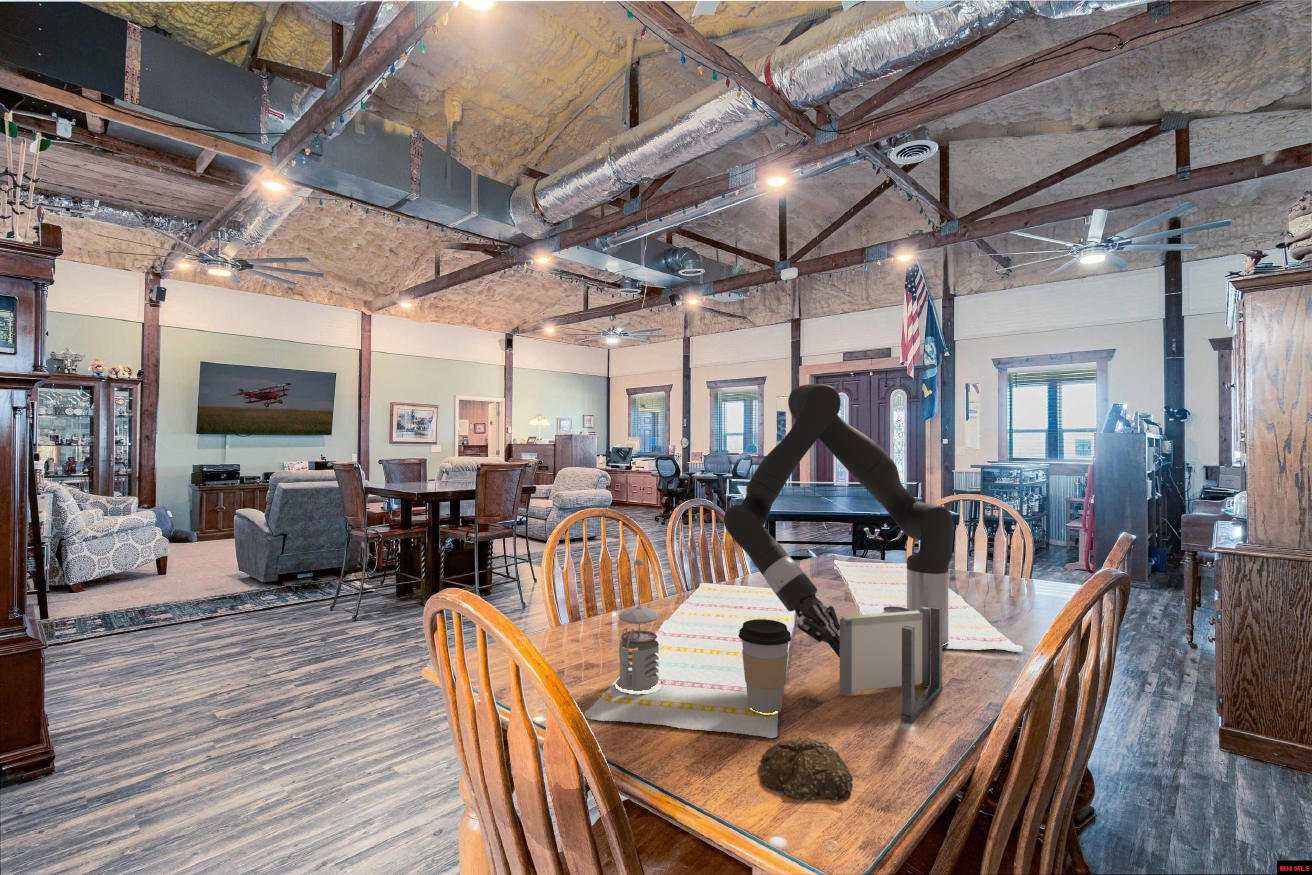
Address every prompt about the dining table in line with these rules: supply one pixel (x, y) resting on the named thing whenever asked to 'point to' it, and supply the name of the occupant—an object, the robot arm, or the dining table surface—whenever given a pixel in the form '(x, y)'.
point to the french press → (647, 646)
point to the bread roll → (806, 770)
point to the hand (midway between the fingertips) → (845, 654)
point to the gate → (881, 649)
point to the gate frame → (909, 704)
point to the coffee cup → (765, 663)
